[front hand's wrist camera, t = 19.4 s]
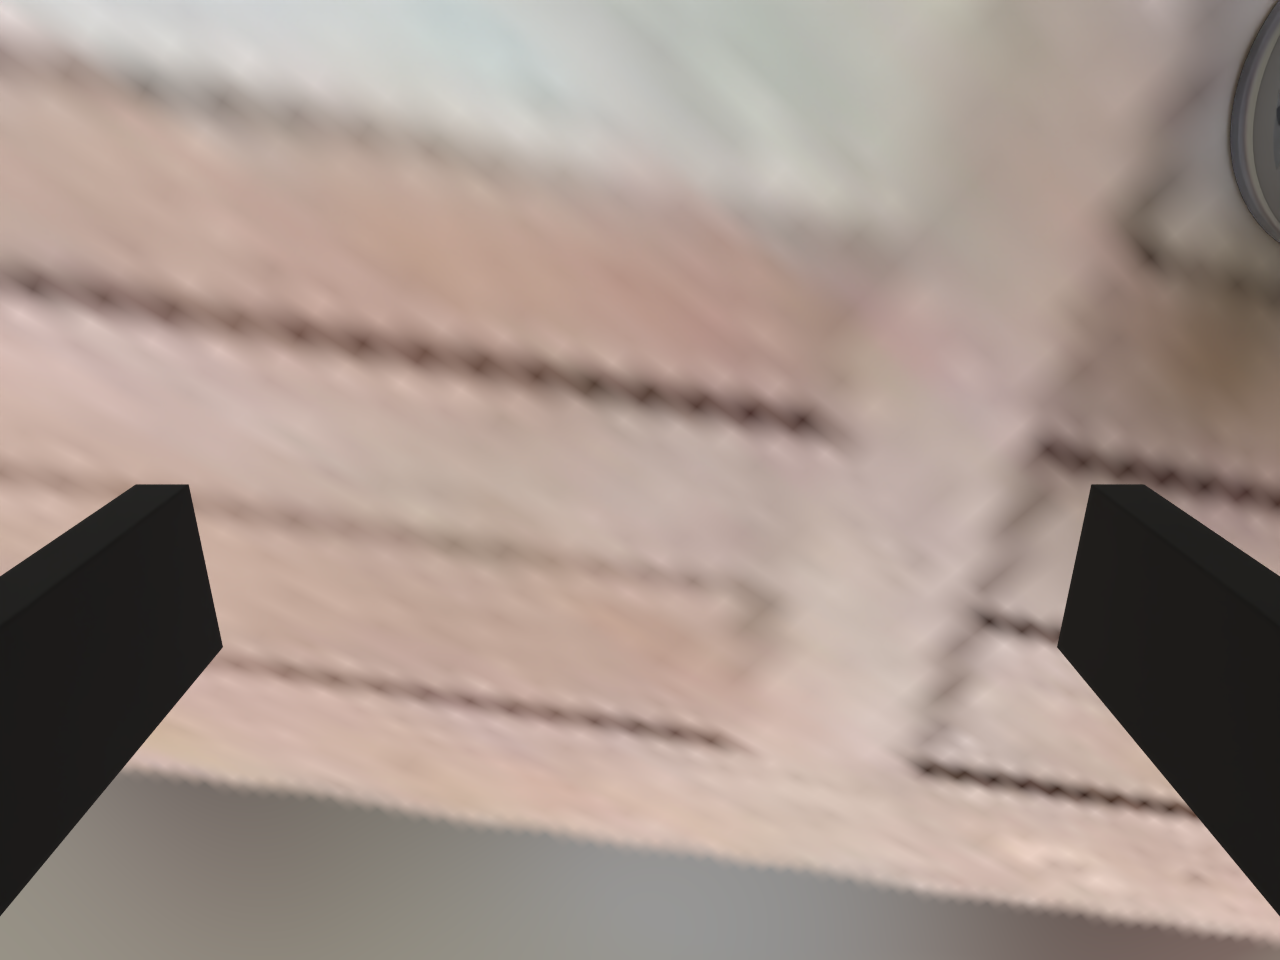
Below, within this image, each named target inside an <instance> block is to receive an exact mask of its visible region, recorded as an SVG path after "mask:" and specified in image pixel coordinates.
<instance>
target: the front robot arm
mask: <svg viewBox="0 0 1280 960" xmlns="http://www.w3.org/2000/svg"><path fill="white" fill-rule="evenodd" d="M1230 137H1231V155H1232V162H1233V169H1234V173H1235V177H1236V181H1237V184H1238V187H1239V189H1240V192H1241V195H1242V197H1243V199H1244V201H1245V203H1246V205H1247V207H1248V209H1249V211H1250V212H1251V213H1252V215H1253V216H1254V218H1255V219H1256V221H1257V222H1258V223H1259V224H1260V225H1261V227H1262V228H1263V229H1264V230H1265V231H1266V232H1267V233H1268V234H1269V235H1270V236H1272V237H1273V238H1274V239H1275V240H1276V241H1277V242H1279V243H1280V0H1279V1H1278V2H1277V4H1276V5H1275V7H1274V8H1273V9H1272V11H1271V13H1270V14H1269V16H1268V18H1267V19H1266V21H1265V22H1264V24H1263V26H1262V27H1261V29H1260V31H1259V33H1258V35H1257V37H1256V39H1255V41H1254V43H1253V45H1252V47H1251V50H1250V52H1249V54H1248V57H1247V59H1246V61H1245V64H1244V67H1243V70H1242V73H1241V76H1240V79H1239V82H1238V86H1237V90H1236V94H1235V99H1234V104H1233V111H1232V117H1231V134H1230ZM222 648H223V646H222V641H221V636H220V631H219V627H218V622H217V617H216V612H215V608H214V603H213V598H212V593H211V589H210V584H209V579H208V574H207V570H206V565H205V560H204V555H203V551H202V546H201V541H200V536H199V532H198V527H197V522H196V517H195V513H194V508H193V503H192V498H191V494H190V489H189V485H134V486H133V487H132V488H130V489H129V490H127V491H126V492H124V493H123V494H121V495H120V496H118V497H117V498H115V499H114V500H112V501H111V502H109V503H108V504H106V505H105V506H103V507H102V508H101V509H99V510H98V511H96V512H95V513H93V514H92V515H90V516H89V517H87V518H86V519H84V520H83V521H81V522H80V523H78V524H77V525H75V526H74V527H72V528H71V529H70V530H68V531H67V532H65V533H64V534H62V535H61V536H59V537H58V538H56V539H55V540H53V541H52V542H50V543H49V544H47V545H46V546H44V547H43V548H41V549H40V550H39V551H37V552H36V553H34V554H33V555H31V556H30V557H28V558H27V559H25V560H24V561H22V562H21V563H19V564H18V565H16V566H15V567H13V568H12V569H10V570H9V571H8V572H6V573H5V574H3V575H2V576H0V916H1V914H2V913H3V912H4V911H5V910H6V908H7V907H8V906H9V905H10V904H11V902H12V901H13V900H14V899H15V898H16V896H17V895H18V894H19V893H20V892H21V890H22V889H23V888H24V887H25V886H26V884H27V883H28V882H29V881H30V880H31V878H32V877H33V876H34V875H35V873H36V872H37V871H38V870H39V869H40V867H41V866H42V865H43V864H44V863H45V861H46V860H47V859H48V858H49V857H50V855H51V854H52V853H53V852H54V851H55V849H56V848H57V847H58V846H59V844H60V843H61V842H62V841H63V840H64V838H65V837H66V836H67V835H68V834H69V832H70V831H71V830H72V829H73V828H74V826H75V825H76V824H77V823H78V822H79V820H80V819H81V818H82V817H83V815H84V814H85V813H86V812H87V811H88V809H89V808H90V807H91V806H92V805H93V803H94V802H95V801H96V800H97V798H98V797H99V796H100V795H101V794H102V793H103V791H104V790H105V789H106V788H107V786H108V785H109V784H110V783H111V782H112V780H113V779H114V778H115V777H116V776H117V774H118V773H119V772H120V771H121V770H122V768H123V767H124V766H125V765H126V764H127V762H128V761H129V760H130V759H131V757H132V756H133V755H134V754H135V753H136V751H137V750H138V749H139V748H140V747H141V745H142V744H143V743H144V742H145V741H146V739H147V738H148V737H149V736H150V735H151V733H152V732H153V731H154V730H155V728H156V727H157V726H158V725H159V724H160V722H161V721H162V720H163V719H164V718H165V716H166V715H167V714H168V713H169V712H170V710H171V709H172V708H173V707H174V706H175V704H176V703H177V702H178V701H179V699H180V698H181V697H182V696H183V695H184V693H185V692H186V691H187V690H188V689H189V687H190V686H191V685H192V684H193V683H194V681H195V680H196V679H197V678H198V677H199V675H200V674H201V673H202V672H203V670H204V669H205V668H206V667H207V666H208V664H209V663H210V662H211V661H212V660H213V658H214V657H215V656H216V655H217V654H218V652H219V651H220V650H221V649H222ZM1057 648H1058V649H1059V650H1060V651H1061V652H1062V654H1063V655H1064V656H1065V657H1066V658H1067V660H1068V661H1069V662H1070V663H1071V664H1072V666H1073V667H1074V668H1075V669H1076V670H1077V672H1078V673H1079V674H1080V675H1081V677H1082V678H1083V679H1084V680H1085V681H1086V683H1087V684H1088V685H1089V686H1090V687H1091V689H1092V690H1093V691H1094V692H1095V693H1096V695H1097V696H1098V697H1099V698H1100V699H1101V701H1102V702H1103V703H1104V704H1105V706H1106V707H1107V708H1108V709H1109V710H1110V712H1111V713H1112V714H1113V715H1114V716H1115V718H1116V719H1117V720H1118V721H1119V722H1120V724H1121V725H1122V726H1123V727H1124V728H1125V730H1126V731H1127V732H1128V733H1129V735H1130V736H1131V737H1132V738H1133V739H1134V741H1135V742H1136V743H1137V744H1138V745H1139V747H1140V748H1141V749H1142V750H1143V751H1144V753H1145V754H1146V755H1147V756H1148V757H1149V759H1150V760H1151V761H1152V762H1153V764H1154V765H1155V766H1156V767H1157V768H1158V770H1159V771H1160V772H1161V773H1162V774H1163V776H1164V777H1165V778H1166V779H1167V780H1168V782H1169V783H1170V784H1171V785H1172V786H1173V788H1174V789H1175V790H1176V791H1177V793H1178V794H1179V795H1180V796H1181V797H1182V799H1183V800H1184V801H1185V802H1186V803H1187V805H1188V806H1189V807H1190V808H1191V809H1192V811H1193V812H1194V813H1195V814H1196V815H1197V817H1198V818H1199V819H1200V820H1201V822H1202V823H1203V824H1204V825H1205V826H1206V828H1207V829H1208V830H1209V831H1210V832H1211V834H1212V835H1213V836H1214V837H1215V838H1216V840H1217V841H1218V842H1219V843H1220V844H1221V846H1222V847H1223V848H1224V849H1225V851H1226V852H1227V853H1228V854H1229V855H1230V857H1231V858H1232V859H1233V860H1234V861H1235V863H1236V864H1237V865H1238V866H1239V867H1240V869H1241V870H1242V871H1243V872H1244V873H1245V875H1246V876H1247V877H1248V878H1249V880H1250V881H1251V882H1252V883H1253V884H1254V886H1255V887H1256V888H1257V889H1258V890H1259V892H1260V893H1261V894H1262V895H1263V896H1264V898H1265V899H1266V900H1267V901H1268V902H1269V904H1270V905H1271V906H1272V907H1273V909H1274V910H1275V911H1276V912H1277V913H1278V915H1279V916H1280V576H1278V575H1277V574H1275V573H1274V572H1272V571H1271V570H1270V569H1268V568H1267V567H1265V566H1264V565H1262V564H1261V563H1259V562H1258V561H1256V560H1255V559H1253V558H1252V557H1250V556H1249V555H1247V554H1246V553H1244V552H1243V551H1241V550H1240V549H1239V548H1237V547H1236V546H1234V545H1233V544H1231V543H1230V542H1228V541H1227V540H1225V539H1224V538H1222V537H1221V536H1219V535H1218V534H1216V533H1215V532H1213V531H1212V530H1210V529H1209V528H1208V527H1206V526H1205V525H1203V524H1202V523H1200V522H1199V521H1197V520H1196V519H1194V518H1193V517H1191V516H1190V515H1188V514H1187V513H1185V512H1184V511H1182V510H1181V509H1179V508H1178V507H1177V506H1175V505H1174V504H1172V503H1171V502H1169V501H1168V500H1166V499H1165V498H1163V497H1162V496H1160V495H1159V494H1157V493H1156V492H1154V491H1153V490H1151V489H1150V488H1148V487H1147V486H1146V485H1091V489H1090V494H1089V498H1088V503H1087V508H1086V513H1085V517H1084V522H1083V527H1082V532H1081V536H1080V541H1079V546H1078V551H1077V555H1076V560H1075V565H1074V570H1073V574H1072V579H1071V584H1070V589H1069V593H1068V598H1067V603H1066V608H1065V612H1064V617H1063V622H1062V627H1061V631H1060V636H1059V641H1058V646H1057Z"/></svg>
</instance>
